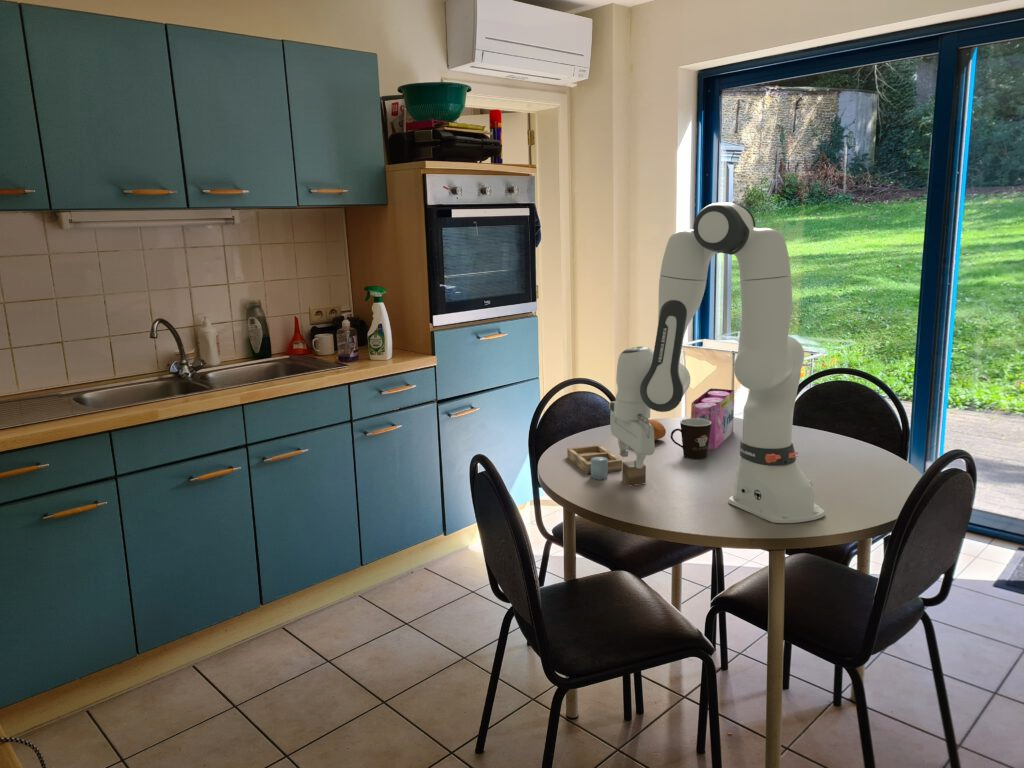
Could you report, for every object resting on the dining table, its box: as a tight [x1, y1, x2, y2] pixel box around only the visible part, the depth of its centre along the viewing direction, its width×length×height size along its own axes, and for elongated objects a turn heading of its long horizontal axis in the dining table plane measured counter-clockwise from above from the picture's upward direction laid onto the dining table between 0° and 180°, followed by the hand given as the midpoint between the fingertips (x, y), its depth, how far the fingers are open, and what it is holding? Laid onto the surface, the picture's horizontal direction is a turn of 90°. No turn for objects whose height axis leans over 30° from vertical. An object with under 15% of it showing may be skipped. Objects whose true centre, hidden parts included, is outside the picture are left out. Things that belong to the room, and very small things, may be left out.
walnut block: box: [621, 460, 647, 486], centre depth 199 cm, size 4×4×5 cm
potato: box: [649, 419, 667, 442], centre depth 234 cm, size 7×13×7 cm, turn 123°
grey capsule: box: [590, 457, 609, 481], centre depth 203 cm, size 4×4×5 cm
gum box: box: [690, 387, 735, 451], centre depth 234 cm, size 24×8×14 cm, turn 151°
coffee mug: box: [670, 417, 711, 460], centre depth 219 cm, size 12×9×10 cm
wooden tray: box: [566, 444, 623, 475], centre depth 215 cm, size 16×10×3 cm, turn 15°
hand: (631, 461), depth 199 cm, fingers open, 8 cm apart
